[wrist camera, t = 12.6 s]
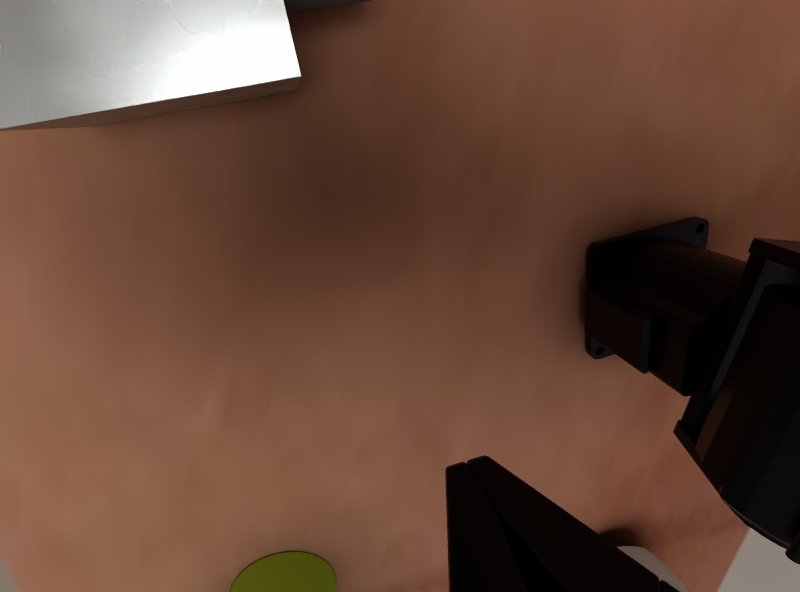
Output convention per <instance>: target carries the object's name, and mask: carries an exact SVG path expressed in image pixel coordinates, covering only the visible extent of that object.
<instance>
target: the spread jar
mask: <svg viewBox="0 0 800 592" xmlns="http://www.w3.org/2000/svg"><path fill="white" fill-rule="evenodd" d="M606 540H607V541H609V542H610V543H612V544H613V545H614V546H616V547H617V548H619V549H620V550H622V551H623V552H624V553H626V554H627V555H629V556H630V557H631V558H633V559H634V560H636V561H637V562H639V563H640V564H641V565H643V566H644V567H646V568H647V569H648V570H650V571H651V572H653V573H654V574H656V575H657V576H658V578H659V581H660V580H664V581H666V582H667V583H669V584H670V585H671V586H673V587H674V588H676V589H677V590H678V591H680V592H689V591H688V590H687V589H686V588H685V587H684V585H683V584H682V583H681V582H680V581H679V579H678V578H677V577H676V576H675V575H674V574H673V573H672V572H671V571H670V569H669V568H668V567H667V566H666V565H665V564H664V563H662V562H661V561H660V560H659V559H658V558H657V557H656V556H655V555H654V554H652V553H651V552H650V551H648V550H647V549H645V548H643V547H641V546H639V545H637V544H634V543H630V542H627V541H623V540H614V539H606Z"/></svg>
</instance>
